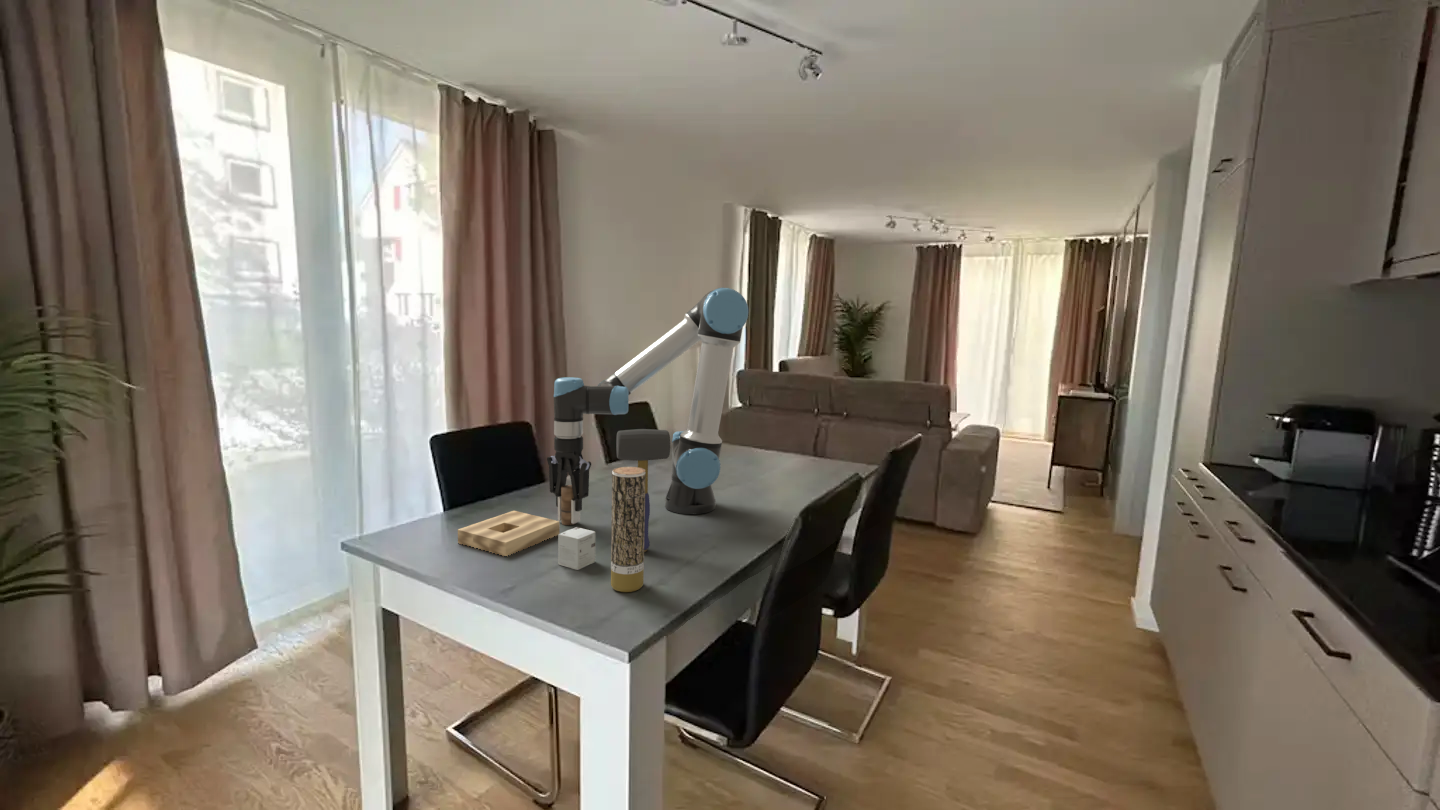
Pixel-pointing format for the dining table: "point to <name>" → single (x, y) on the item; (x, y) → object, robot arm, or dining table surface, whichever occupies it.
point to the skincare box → (576, 548)
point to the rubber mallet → (643, 456)
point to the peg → (566, 504)
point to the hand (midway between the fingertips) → (569, 520)
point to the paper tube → (627, 528)
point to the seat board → (508, 532)
